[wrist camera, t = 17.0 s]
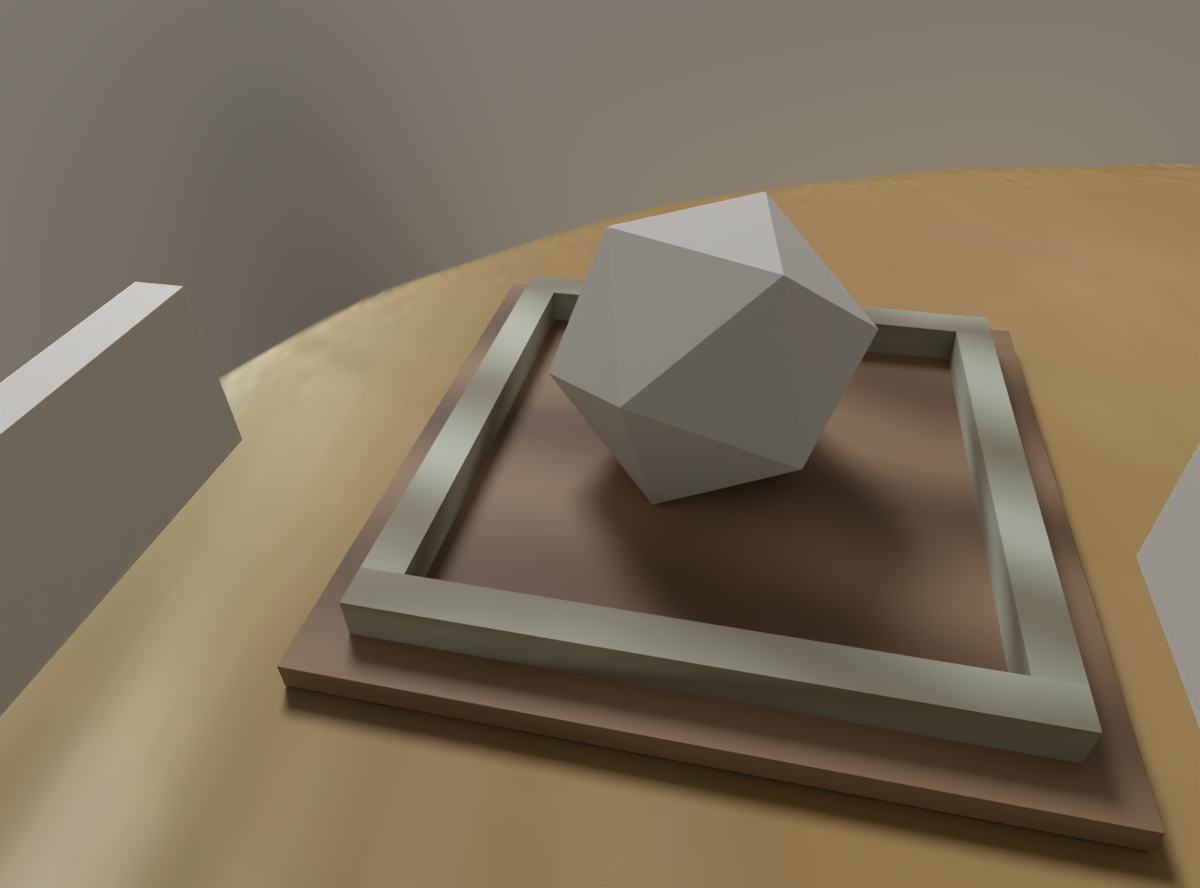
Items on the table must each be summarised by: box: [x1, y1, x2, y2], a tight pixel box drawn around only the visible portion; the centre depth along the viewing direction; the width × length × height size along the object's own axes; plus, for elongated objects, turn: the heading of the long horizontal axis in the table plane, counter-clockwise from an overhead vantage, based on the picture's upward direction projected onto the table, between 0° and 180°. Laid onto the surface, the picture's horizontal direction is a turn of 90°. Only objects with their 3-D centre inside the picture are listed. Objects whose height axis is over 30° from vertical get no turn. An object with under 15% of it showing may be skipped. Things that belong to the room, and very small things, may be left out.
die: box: [548, 192, 878, 505], centre depth 24 cm, size 8×9×10 cm
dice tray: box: [277, 276, 1165, 852], centre depth 26 cm, size 20×20×2 cm
